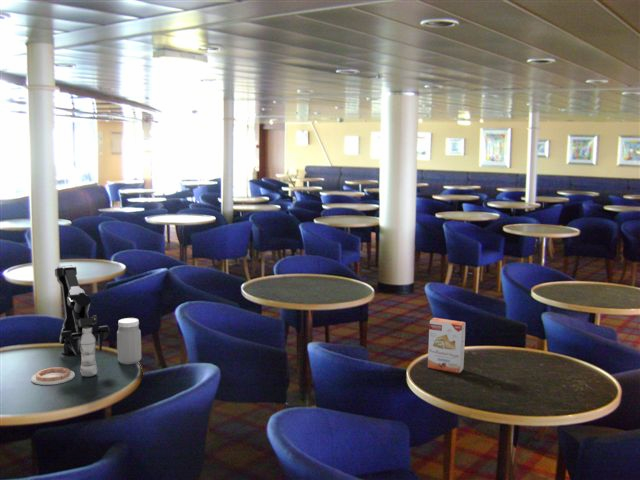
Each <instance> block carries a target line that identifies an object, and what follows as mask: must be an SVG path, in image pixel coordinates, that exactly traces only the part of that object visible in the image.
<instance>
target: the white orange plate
mask: <svg viewBox="0 0 640 480" xmlns="http://www.w3.org/2000/svg"><path fill="white" fill-rule="evenodd" d="M75 376H76V374H75V372H74V371H73V370H70V369H69V368H68V367H62V366H59V367H58V366H57V367H48V368H47V367H46V368H45V369H41V370H39V371H37V372H36V373H35V374H33V375H32V376H31V378H30V379H31V383H33V384H35V385H39V386H54V385H59V384H63V383H66V382H69V381H71V380H73V379H74V378H75Z"/></svg>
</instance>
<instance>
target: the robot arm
mask: <svg viewBox="0 0 640 480" xmlns="http://www.w3.org/2000/svg"><path fill="white" fill-rule="evenodd" d="M77 270H78V269H77V266H74V265H72V264H71V265H69V264H68V265H58V266H57V267H56V268H55V269H54V276H55V277H56V281H57V282H58V284H59V285H60V286H61V290H62V299H63V306H64V317H65V319H64V320H63V323H62V328H61V330H60V335H59V344H60V345H63V351H62V352H61V355H62V354H63V355H67V356H78V354H81V349H80V344H79V340H80V337H81V336H82V334H83V333H82V328H83V327H85V326H91V327H92V334H93V335H94V336H97V343H98V351H99V352H102V347H103V342H104V340H106V338H108V337H109V334H110V332H111V330H110V326H108V325H101V326H98V328H97V329H95V330H93V328H94V325H95V324H97V323H98V317H97V315H96V314H93V315H91V316H89V309H90V306H91V301H92V299H91V297H90V296H89V295H87V294H86V291H85V290H84V289H83V288H81V287H80V284H79V280H78V277H77V276H78V272H77Z"/></svg>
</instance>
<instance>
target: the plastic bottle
mask: <svg viewBox="0 0 640 480" xmlns="http://www.w3.org/2000/svg"><path fill="white" fill-rule="evenodd" d="M92 331H93V329H92V327H91V326H85V327H83V328H82V333H83V334H82V336H81V337H80V340H79V344H80V350H81V353H80V356H81V361H80V363H81V364H80V374H81V376H82V377H87V378H88V377H94V376H95V375H96V374H97V373H98V365H97V360H96V345H97V339H96V335H93V334H92Z"/></svg>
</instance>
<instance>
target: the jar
mask: <svg viewBox="0 0 640 480" xmlns="http://www.w3.org/2000/svg"><path fill="white" fill-rule="evenodd" d="M117 325H118V328H117V331H116V346H117V347H116V348H117V351H116V352H117V361H118V362H119V363H120V364H123V365H133V364H137V363H139V362H140V361H141V360H142V334H141V333H142V332H141V331H142V330H141V329H140V328H139V327H140V326H139V325H140V321H139V319H138V318H135V317H127V318H126V317H125V318H121V319H119V320H118V323H117Z"/></svg>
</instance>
